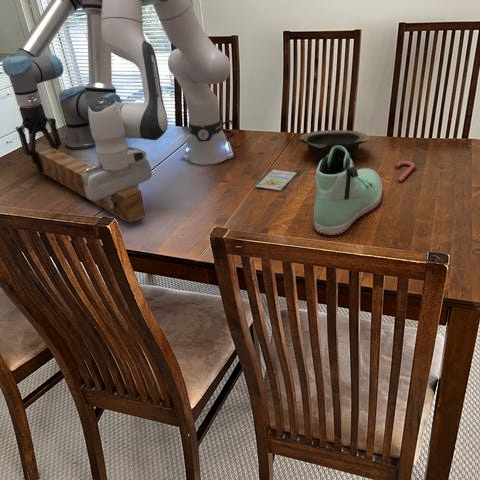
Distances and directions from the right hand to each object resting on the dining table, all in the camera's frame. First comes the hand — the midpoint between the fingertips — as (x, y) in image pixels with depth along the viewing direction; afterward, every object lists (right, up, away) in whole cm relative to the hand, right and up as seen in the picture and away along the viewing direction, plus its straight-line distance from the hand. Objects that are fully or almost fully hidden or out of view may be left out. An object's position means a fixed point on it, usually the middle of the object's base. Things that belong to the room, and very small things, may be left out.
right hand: (123, 203), depth 140 cm
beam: (-18, +6, +18) cm, 26 cm away
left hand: (-36, +15, +34) cm, 52 cm away
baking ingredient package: (+46, +9, +19) cm, 51 cm away
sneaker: (+65, -2, -1) cm, 66 cm away
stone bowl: (+68, +20, +33) cm, 78 cm away
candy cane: (+87, +11, +16) cm, 90 cm away
